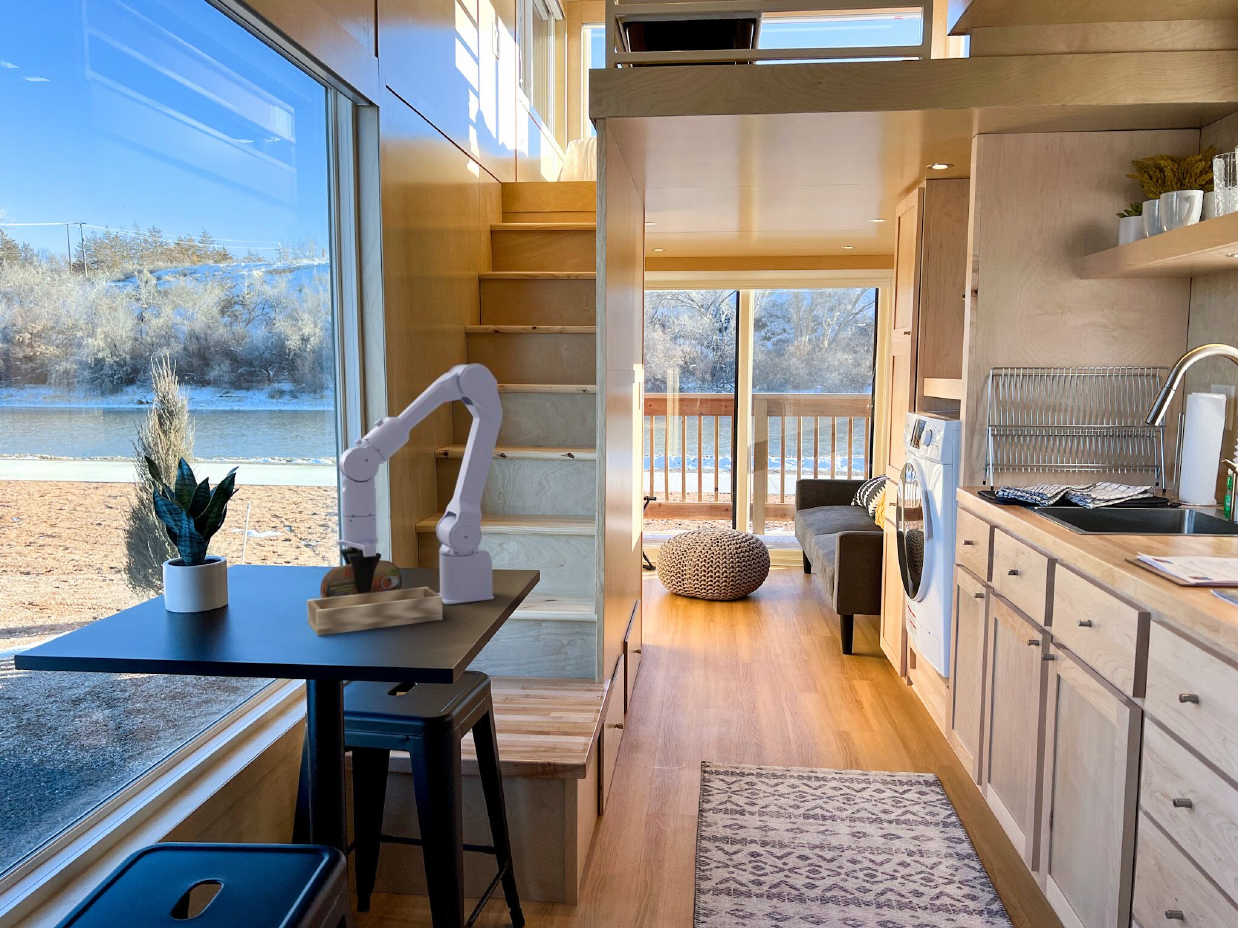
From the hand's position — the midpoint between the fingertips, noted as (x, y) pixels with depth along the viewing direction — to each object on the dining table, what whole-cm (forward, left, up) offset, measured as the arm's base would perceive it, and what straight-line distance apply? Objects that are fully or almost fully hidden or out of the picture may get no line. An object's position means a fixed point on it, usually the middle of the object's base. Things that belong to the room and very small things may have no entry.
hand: (361, 589), depth 160 cm
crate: (0, +10, -3) cm, 11 cm away
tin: (0, 0, -4) cm, 4 cm away
